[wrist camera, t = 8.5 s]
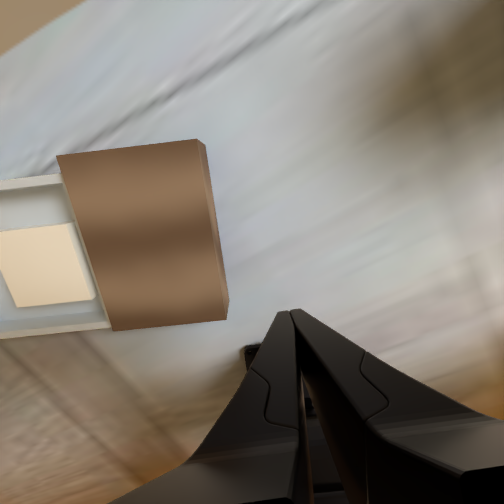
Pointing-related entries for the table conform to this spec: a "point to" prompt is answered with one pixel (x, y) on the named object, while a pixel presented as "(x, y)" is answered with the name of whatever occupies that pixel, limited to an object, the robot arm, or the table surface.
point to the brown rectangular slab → (150, 232)
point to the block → (45, 264)
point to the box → (36, 213)
